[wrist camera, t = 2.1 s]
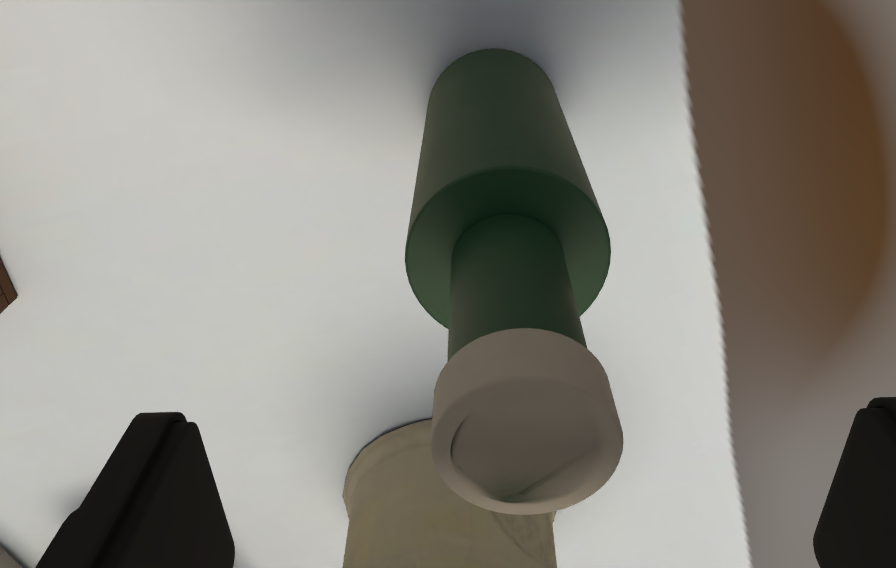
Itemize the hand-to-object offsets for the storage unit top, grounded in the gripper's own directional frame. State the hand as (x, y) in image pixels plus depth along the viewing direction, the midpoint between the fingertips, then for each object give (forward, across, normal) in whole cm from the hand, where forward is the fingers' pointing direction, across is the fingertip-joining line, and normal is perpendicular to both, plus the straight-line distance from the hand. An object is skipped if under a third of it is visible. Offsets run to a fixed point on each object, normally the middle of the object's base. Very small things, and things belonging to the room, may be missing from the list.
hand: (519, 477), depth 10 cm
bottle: (+16, 0, -1) cm, 16 cm away
